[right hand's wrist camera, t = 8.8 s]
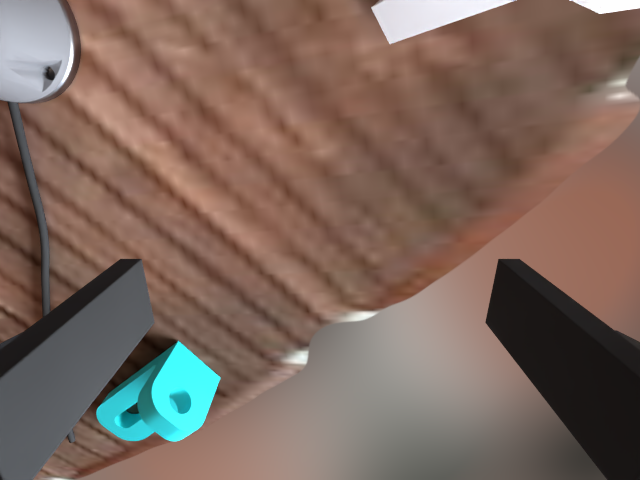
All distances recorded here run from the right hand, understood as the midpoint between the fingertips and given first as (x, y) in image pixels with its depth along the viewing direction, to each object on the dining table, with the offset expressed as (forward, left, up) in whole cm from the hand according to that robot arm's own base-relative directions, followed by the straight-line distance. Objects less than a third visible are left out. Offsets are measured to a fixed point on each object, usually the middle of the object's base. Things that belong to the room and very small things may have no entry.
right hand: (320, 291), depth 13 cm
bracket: (-37, +28, -34) cm, 57 cm away
